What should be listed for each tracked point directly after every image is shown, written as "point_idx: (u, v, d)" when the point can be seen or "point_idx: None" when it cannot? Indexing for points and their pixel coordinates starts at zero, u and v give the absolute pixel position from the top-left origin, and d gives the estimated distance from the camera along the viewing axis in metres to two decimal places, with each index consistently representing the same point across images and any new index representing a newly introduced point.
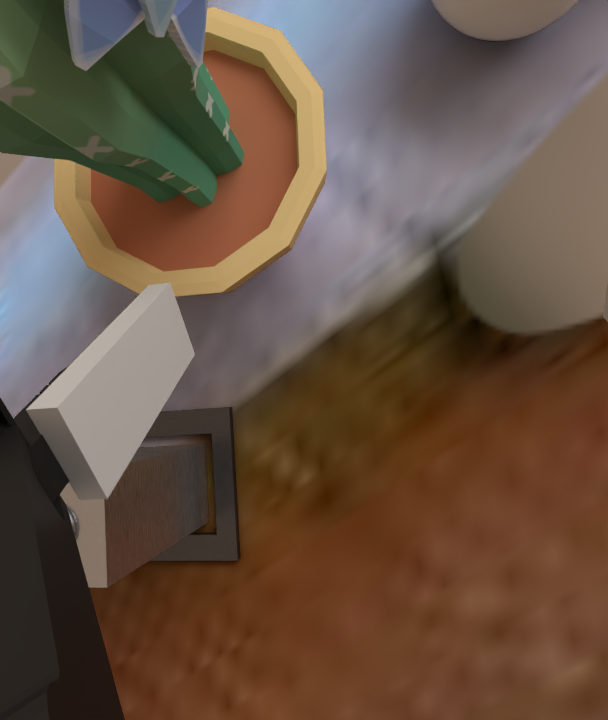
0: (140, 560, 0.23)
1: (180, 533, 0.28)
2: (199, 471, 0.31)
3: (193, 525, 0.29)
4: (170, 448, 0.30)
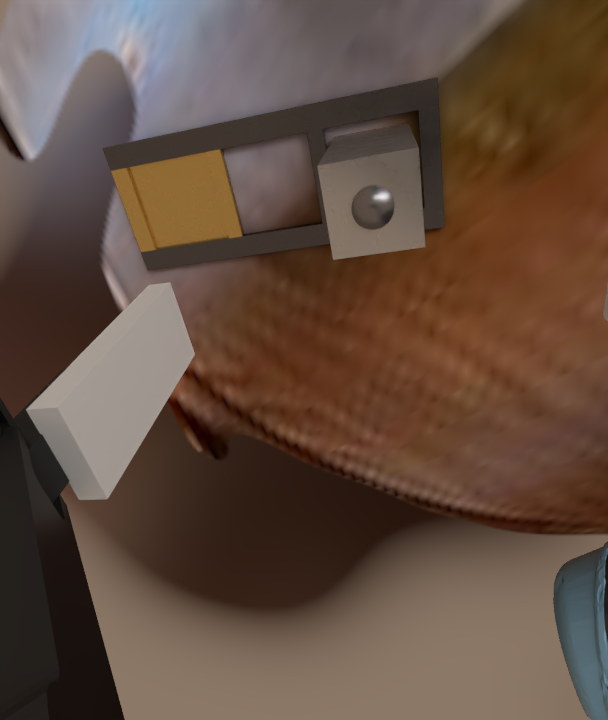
0: None
1: None
2: None
3: None
4: (387, 130, 0.31)
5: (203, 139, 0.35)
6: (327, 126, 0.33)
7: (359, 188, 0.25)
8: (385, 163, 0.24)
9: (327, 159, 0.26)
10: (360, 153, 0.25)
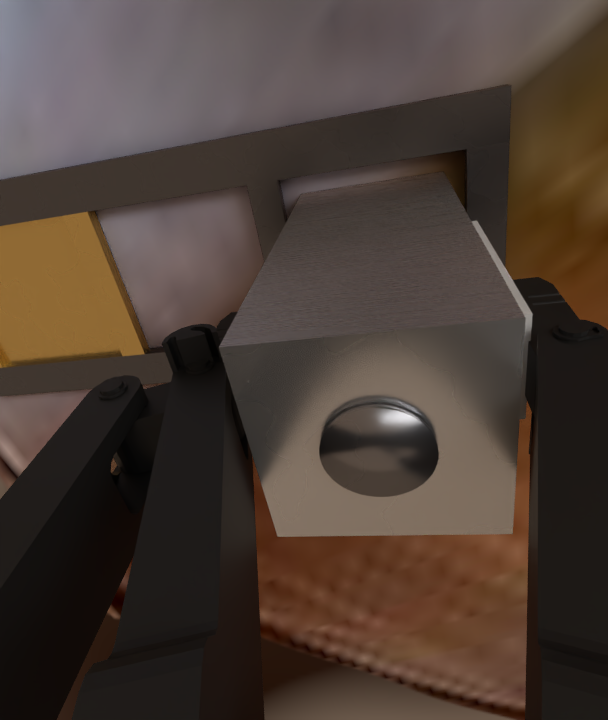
0: None
1: None
2: None
3: None
4: (404, 192, 0.15)
5: (54, 193, 0.18)
6: (285, 176, 0.17)
7: (339, 406, 0.09)
8: (418, 352, 0.08)
9: (257, 308, 0.10)
10: (345, 299, 0.09)
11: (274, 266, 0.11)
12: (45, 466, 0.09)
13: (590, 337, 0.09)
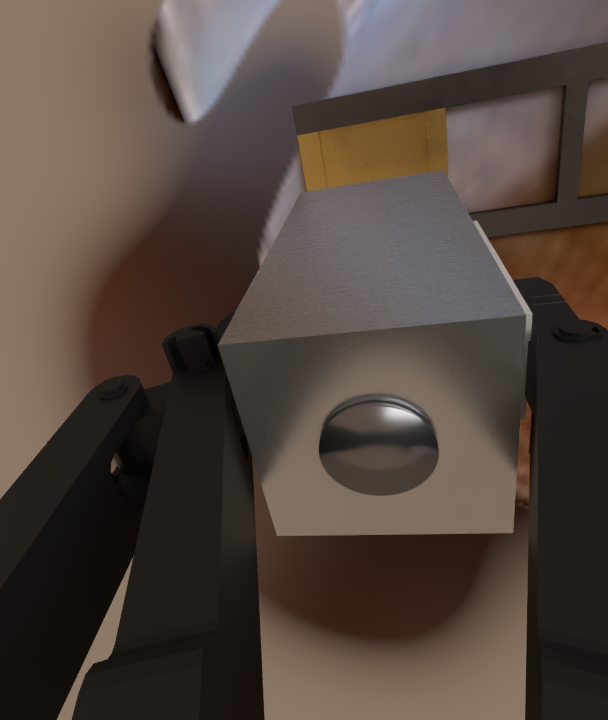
0: None
1: None
2: None
3: None
4: (404, 190, 0.15)
5: (427, 94, 0.28)
6: (596, 77, 0.26)
7: (339, 404, 0.09)
8: (418, 350, 0.08)
9: (256, 306, 0.09)
10: (344, 297, 0.09)
11: (273, 264, 0.11)
12: (45, 466, 0.09)
13: (590, 337, 0.09)
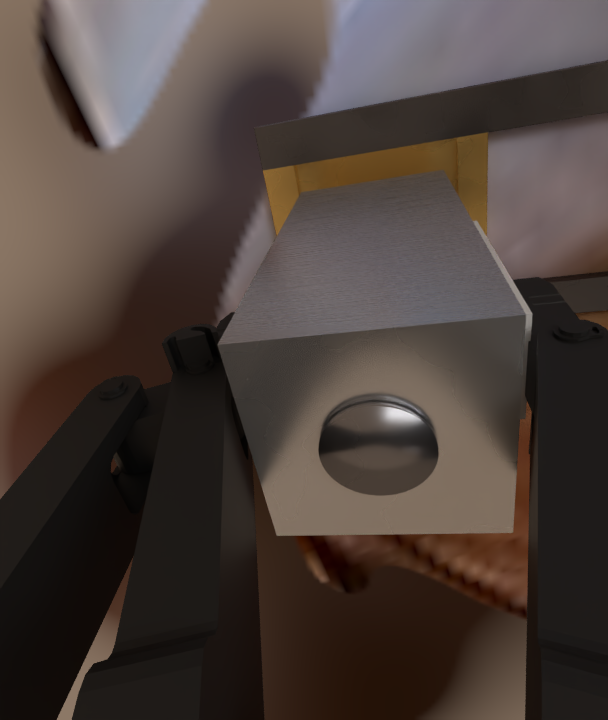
0: None
1: None
2: None
3: None
4: (403, 190, 0.15)
5: (459, 112, 0.18)
6: None
7: (339, 404, 0.09)
8: (418, 349, 0.08)
9: (255, 306, 0.09)
10: (344, 297, 0.09)
11: (273, 264, 0.11)
12: (45, 466, 0.09)
13: (590, 337, 0.09)
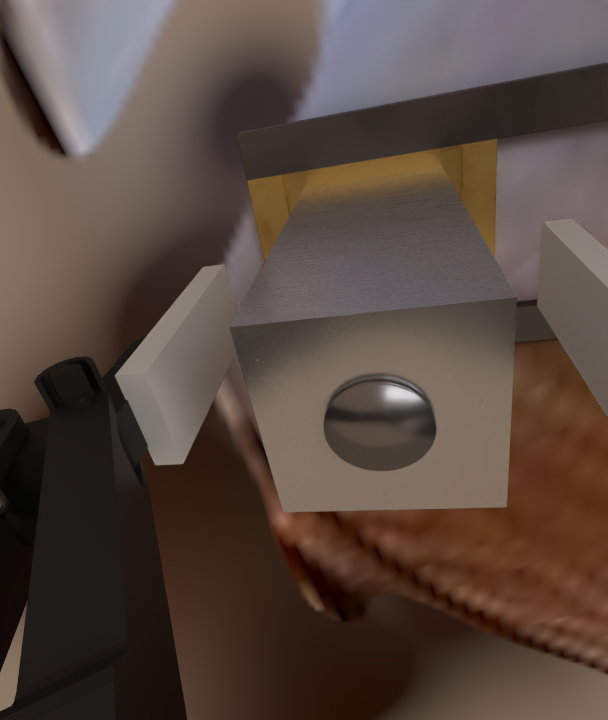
0: None
1: None
2: None
3: None
4: (403, 186, 0.16)
5: (465, 117, 0.16)
6: None
7: (343, 383, 0.09)
8: (417, 330, 0.09)
9: (264, 292, 0.10)
10: (348, 283, 0.10)
11: (279, 254, 0.12)
12: None
13: None
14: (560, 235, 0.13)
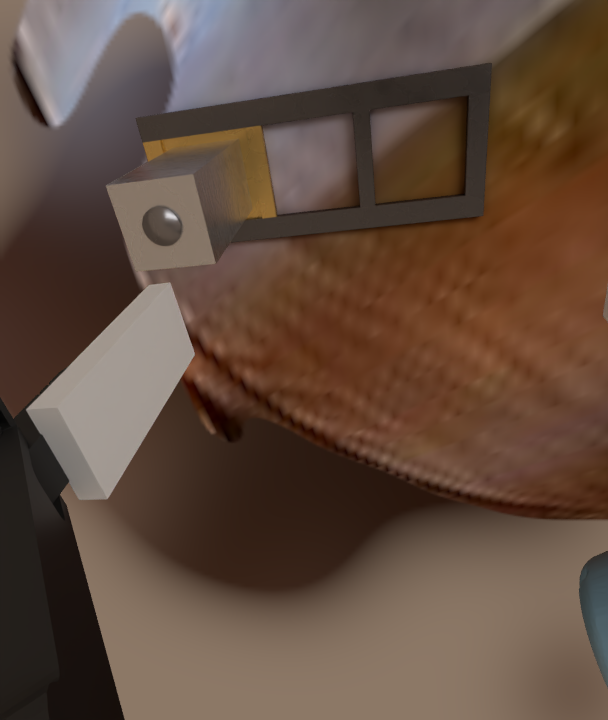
0: (226, 243, 0.30)
1: (240, 220, 0.34)
2: (240, 165, 0.34)
3: (245, 213, 0.35)
4: (212, 146, 0.33)
5: (244, 114, 0.33)
6: (374, 107, 0.32)
7: (147, 208, 0.27)
8: (166, 186, 0.26)
9: (123, 178, 0.27)
10: (151, 174, 0.27)
11: (138, 169, 0.29)
12: None
13: None
14: None
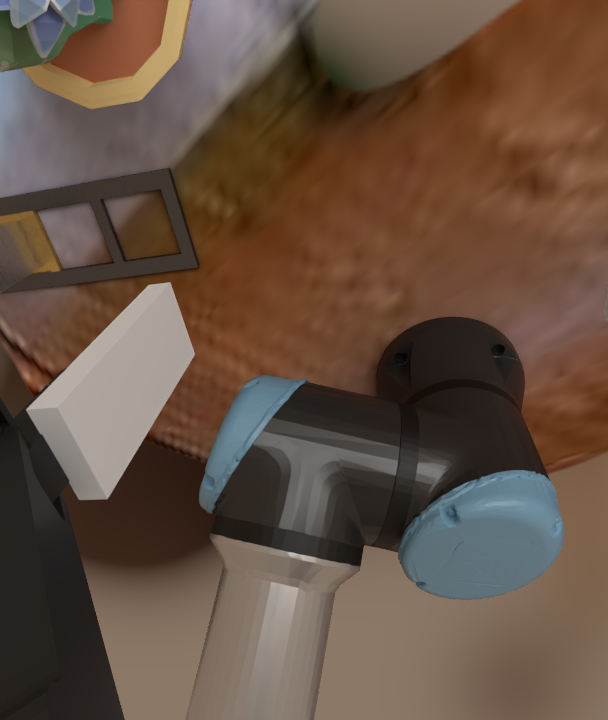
0: None
1: (19, 276, 0.48)
2: (23, 238, 0.49)
3: (29, 270, 0.50)
4: None
5: (20, 203, 0.48)
6: (102, 197, 0.47)
7: None
8: None
9: None
10: None
11: None
12: None
13: None
14: None
